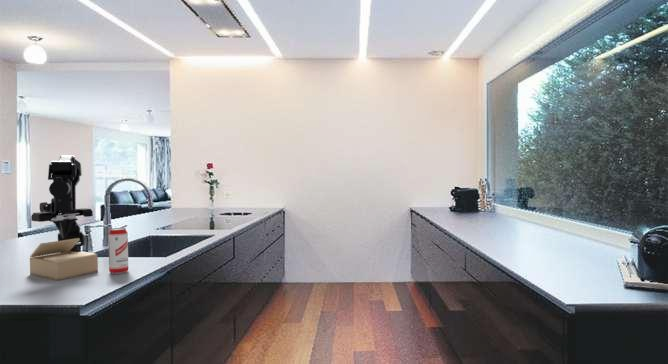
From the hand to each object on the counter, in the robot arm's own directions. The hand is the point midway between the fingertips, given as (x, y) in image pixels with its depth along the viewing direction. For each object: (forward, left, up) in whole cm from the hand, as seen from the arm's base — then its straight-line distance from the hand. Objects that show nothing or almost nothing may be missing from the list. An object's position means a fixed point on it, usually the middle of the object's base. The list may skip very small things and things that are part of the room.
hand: (64, 238), depth 157 cm
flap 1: (0, -5, -4) cm, 7 cm away
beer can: (-10, +17, -13) cm, 23 cm away
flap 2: (0, +4, -7) cm, 8 cm away
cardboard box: (0, 0, -13) cm, 13 cm away
